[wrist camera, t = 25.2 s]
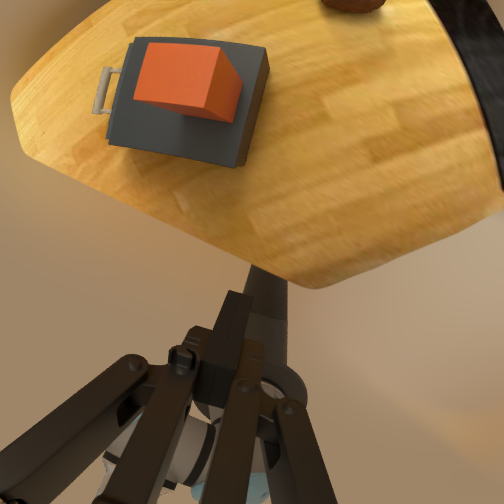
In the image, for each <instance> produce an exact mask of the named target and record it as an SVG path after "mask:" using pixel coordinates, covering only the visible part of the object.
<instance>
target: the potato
mask: <svg viewBox="0 0 504 504" xmlns="http://www.w3.org/2000/svg"><path fill="white" fill-rule="evenodd" d="M322 1H323V2H324V3H325V4H326V5H328V6H331V7H333V8H337V9H341V10H345V11H351V12H358V13H368V12H371V11H373V10H376V9H378V8H379V7H381V6H382V5H383V4H384V3H385V1H386V0H322Z"/></svg>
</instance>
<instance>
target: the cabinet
mask: <svg viewBox="0 0 504 504" xmlns="http://www.w3.org/2000/svg"><path fill="white" fill-rule="evenodd" d="M149 43H174V44H191V45H202V46H212V47H220V48H221V49H222V50H223V52H224V53H225V55H226V56H227V58H228V59H229V61H230V63H231V64H232V66H233V67H234V69H235V70H236V72H237V73H238V75H239V77H240V78H241V80H242V81H243V85H242V89H241V92H240V96H239V100H238V104H237V108H236V112H235V116H234V120H233V123H227V122H222V121H217V120H212V119H206V118H200V117H194V116H188V115H182V114H179V113H176V112H173V111H170V110H167V109H163V108H160V107H157V106H154V105H150V104H147V103H143V102H140V101H136V100H133V98H134V94H135V90H136V86H137V82H138V79H139V75H140V71H141V68H142V64H143V61H144V58H145V54H146V51H147V48H148V45H149ZM269 69H270V67H269V62H268V57H267V52H266V48H264V47H258V46H253V45H246V44H240V43H233V42H225V41H216V40H206V39H194V38H177V37H135V40H134V43H133V46H132V49H131V52H130V55H129V59H128V62H127V65H126V69H125V72H124V76H123V80H122V84H121V87H120V91H119V96H118V100H117V104H116V108H115V113H114V118H113V122H112V127H111V133H110V138H109V145H115V146H121V147H128V148H134V149H140V150H146V151H151V152H157V153H162V154H168V155H173V156H178V157H183V158H188V159H193V160H198V161H203V162H207V163H212V164H216V165H221V166H225V167H230V168H237V167H241V166H244V165H245V163H246V159H247V154H248V150H249V146H250V142H251V138H252V134H253V130H254V127H255V123H256V119H257V115H258V111H259V107H260V103H261V99H262V96H263V92H264V88H265V84H266V81H267V77H268V73H269Z"/></svg>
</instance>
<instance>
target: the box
mask: <svg viewBox="0 0 504 504" xmlns="http://www.w3.org/2000/svg"><path fill="white" fill-rule="evenodd" d="M242 85H243V81H242V80H241V78H240V77H239V75H238V73H237V72H236V70H235V69H234V67H233V66H232V64H231V63H230V61H229V59H228V58H227V56H226V55H225V53H224V52H223V50H222V49H221V48H220V47H212V46H202V45H191V44H174V43H149V45H148V48H147V51H146V54H145V58H144V61H143V64H142V68H141V71H140V75H139V79H138V82H137V86H136V90H135V94H134V98H133V100H136V101H140V102H143V103H147V104H150V105H154V106H157V107H160V108H163V109H167V110H170V111H173V112H176V113H179V114H182V115H188V116H194V117H200V118H206V119H212V120H217V121H222V122H227V123H233V120H234V116H235V112H236V108H237V104H238V100H239V96H240V92H241V89H242Z"/></svg>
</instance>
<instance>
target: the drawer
mask: <svg viewBox="0 0 504 504" xmlns="http://www.w3.org/2000/svg"><path fill="white" fill-rule="evenodd" d="M132 46H133V43H130V44H129V47H128V50H127V53H126V57H125V60H124V63H123V67H122V69H113V68H112V67H103V70H102V73H101V77H100V81H99V85H98V89H97V93H96V97H95V101H94V106H93V110H92V114H102V113H107V114H111V115H110V120H109V125H108V130H107V135H106V139H109V138H110V133H111V127H112V122H113V118H114V113H115V108H116V104H117V100H118V96H119V91H120V87H121V84H122V80H123V76H124V72H125V69H126V65H127V62H128V59H129V55H130V52H131V49H132ZM112 73H121V74H120V78H119V81H118V85H117V89H116V93H115V97H114V101H113V106H112V110H111V109H103V106H104V102H105V97H106V93H107V89H108V85H109V81H110V78H111V74H112Z"/></svg>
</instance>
